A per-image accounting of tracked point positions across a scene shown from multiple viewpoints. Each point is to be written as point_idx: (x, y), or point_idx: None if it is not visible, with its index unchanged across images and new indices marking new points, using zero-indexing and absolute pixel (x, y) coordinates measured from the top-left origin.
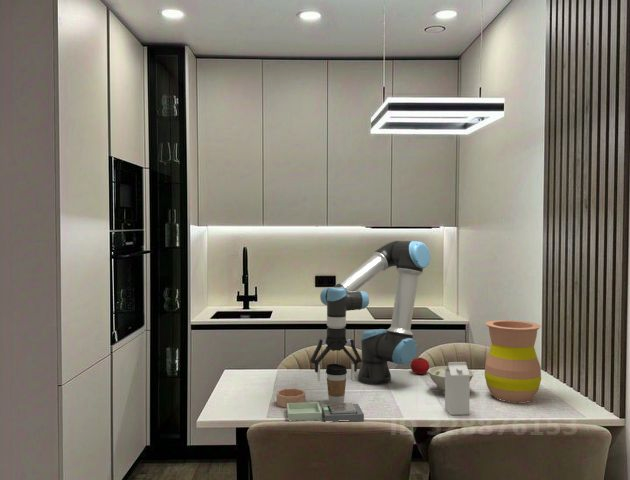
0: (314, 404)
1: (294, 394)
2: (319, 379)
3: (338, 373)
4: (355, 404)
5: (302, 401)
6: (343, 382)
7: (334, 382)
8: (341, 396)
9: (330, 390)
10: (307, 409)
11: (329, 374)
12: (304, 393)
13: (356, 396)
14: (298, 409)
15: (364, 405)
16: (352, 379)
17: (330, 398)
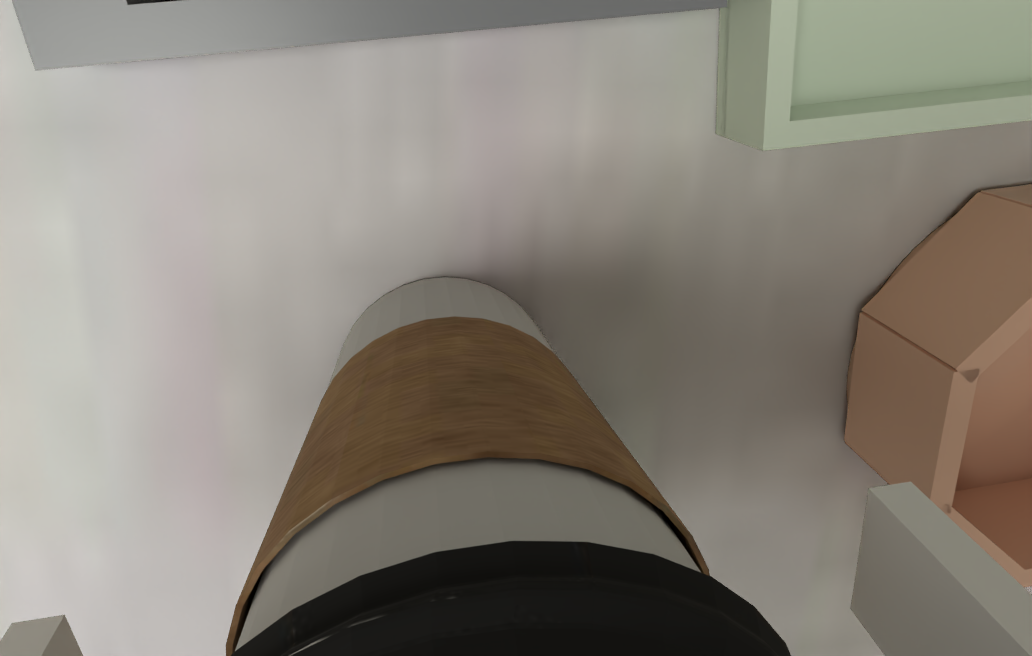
0: (812, 112)
1: (976, 520)
2: (908, 515)
3: (448, 604)
4: (79, 19)
5: (937, 282)
6: (298, 495)
7: (538, 434)
8: (367, 348)
9: (580, 390)
10: (892, 43)
11: (743, 600)
12: (960, 390)
13: (177, 642)
14: (1013, 45)
15: (5, 305)
16: (43, 646)
17: (547, 345)
